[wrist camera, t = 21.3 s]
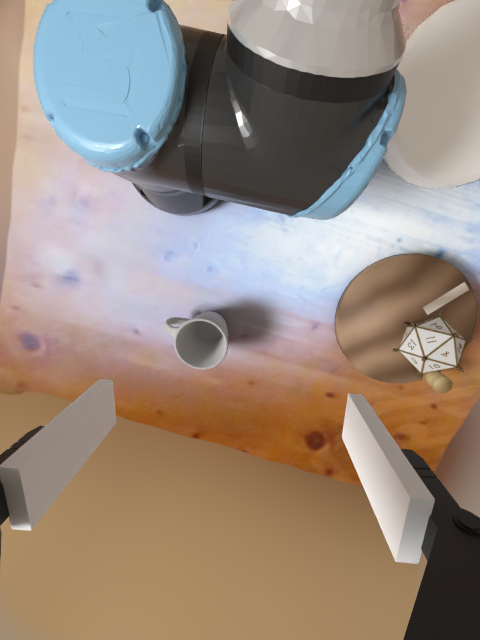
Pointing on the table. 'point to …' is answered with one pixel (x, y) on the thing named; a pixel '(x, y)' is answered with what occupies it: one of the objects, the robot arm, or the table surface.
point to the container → (440, 101)
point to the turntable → (401, 314)
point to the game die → (432, 345)
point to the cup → (200, 339)
